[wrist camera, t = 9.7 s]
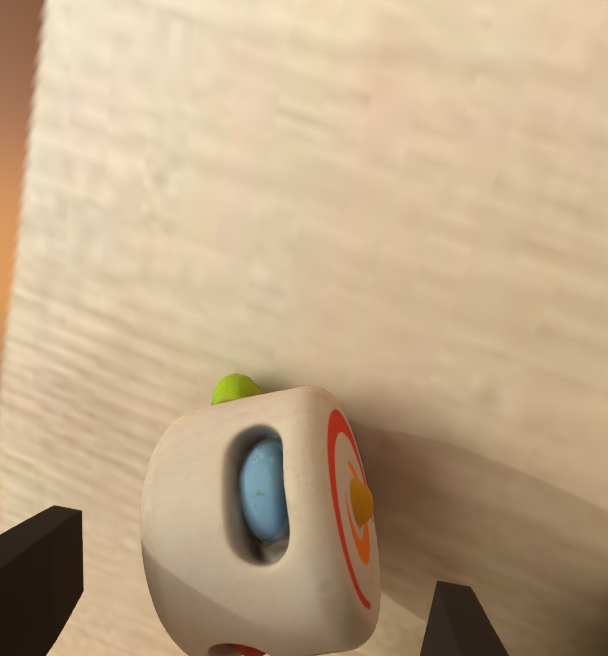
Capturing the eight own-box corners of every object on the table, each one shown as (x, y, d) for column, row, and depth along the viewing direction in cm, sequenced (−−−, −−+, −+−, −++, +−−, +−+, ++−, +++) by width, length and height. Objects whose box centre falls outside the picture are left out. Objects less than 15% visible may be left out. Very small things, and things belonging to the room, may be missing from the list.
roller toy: (346, 336, 14) (322, 443, 8) (402, 536, 15) (412, 738, 10) (195, 371, 15) (85, 489, 9) (262, 556, 16) (200, 751, 11)
